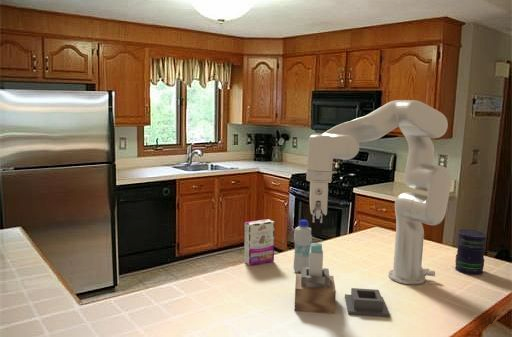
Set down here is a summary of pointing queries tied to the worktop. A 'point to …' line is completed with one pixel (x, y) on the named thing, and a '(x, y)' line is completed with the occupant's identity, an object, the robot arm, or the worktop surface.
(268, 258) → the candy bar box
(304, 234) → the bottle
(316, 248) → the plug
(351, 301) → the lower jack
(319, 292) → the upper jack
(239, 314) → the worktop surface
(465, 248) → the storage jar
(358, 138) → the robot arm
